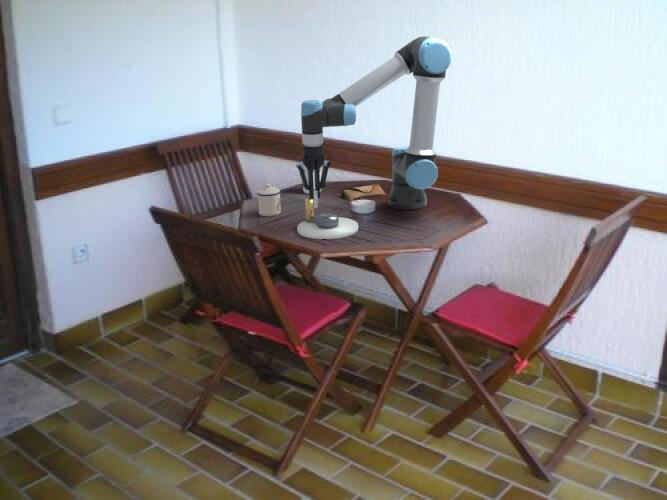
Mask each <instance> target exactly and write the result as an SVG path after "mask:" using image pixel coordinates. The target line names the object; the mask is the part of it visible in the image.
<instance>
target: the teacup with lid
mask: <svg viewBox="0 0 667 500" xmlns="http://www.w3.org/2000/svg"><path fill="white" fill-rule="evenodd" d="M256 195H257V204H258V206H257V207H258V214H259V216H262V217H274V216H279V215H280V214H281V213H282V207H281V190H280V189H279V188H277V187H275V186H271V183H266V184H265V186H264V187H262V188H260V189H258V190H257V191H256Z"/></svg>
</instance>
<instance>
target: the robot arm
mask: <svg viewBox="0 0 667 500" xmlns="http://www.w3.org/2000/svg"><path fill="white" fill-rule="evenodd" d="M452 55H453V53H452V50H451V48H450V45H448V43H447V42H445V41H444V40H442V39H441V38H437V37H430V36H419V37H416V38H414V39H413V40H411V41H409V42H408V43H407V44H405V45H404V46H403V47H401V48H400V49H398V50H397V51H395V52H394V55H393V57H391V58H389V59H388V60H387V61H385V62H384V63H382V64H381V65H380V66H378V67H376V68H375V69H374V70H372V71H370V72H368V74H365V75H364V76H363V77H362V78H359V79H358V80H357V81H355V82H354V83H352V84H351V85H349V86H348V87H346V88H345V89H344V90H341V91H340V92H339V93H338V94H336V95H334V96H333V97H330V98H326V99H324V100H323V101H322V100H319V99H309V100H305V101H303V102H301V104H300V105H301V107H300V109H301V111H300V116H301V117H300V118H301V121H300V122H301V139H302V140H301V141H302V143H301V144H303V145H302V147H301V148H302V158H301V162H300V163H296V164H295V168H297V170H298V172H299V175H300V179H301V181H302V187H303V186H304V188H305V189H306V190H309V194H308V196H309V197H308V198H313V207H314V209H317V208H318V207H319V204H318V203H319V199H320V197H321V192H320V190H321V191H322V189H324V188H325V187H326V182H327V176H328V172H329V168H330V167H331V164H332V163H331V162H330V160H326V158H325V155H324V144H323V143H324V128H329V127H348V126H353V125H355V123H356V121H357V110H356V107H357V106H359V105H361V104H362V103H363V102H365V101H366V100H368V99H369V98H371V97H373V96H374V95H375V94H377V93H378V92H380V91H381V90H383V89H385V88H386V87H388V86H389V85H391V84H392V83H394V82H395V81H397V80H398V79H400V78H401V77H403V76H404V75H408V76H409V75H411V74H412V76H413V78H414V79H415V92H414V99H413V111H412V118H411V119H412V120H411V129H410V137H409V146H400V147H395V148H393V149H392V152H391V153H392V154H391V160H392V161H391V163H392V164H391V168H392V169H391V172H392V177H391V178H392V186H391V190H390V192H389V196H388V203H387V204H388V206H389V207H390V208H393V209H397V210H416V209H417V210H418V209H421V208H424V207H426V206H427V205H428V203H427V201H428V200H427V196H426V192H425V190H426V189H428V188H430V187H431V186H432V185H434V184H435V183H436V181H437V179H438V176H439V170H438V167H437V165H436V158H437V152H436V151H435V149H434V147H433V145H434V138H435V130H436V121H437V115H438V114H437V113H438V106H439V96H440V95H439V94H440V87H441V83H442V82H443V81H444V79H446V74H447V73H446V72H447V70H448V68H449V67H450V65H451V62H452V58H453V56H452ZM303 165H305V167H306V168H307V171H308V183H307V179H306V176H305V173H304V170H303V168H304V166H303ZM321 168H322V169H321ZM313 170H314V173H315V189H314V184H313ZM321 171H322V172H321ZM320 173H321V180H320Z"/></svg>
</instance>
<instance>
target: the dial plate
mask: <svg viewBox="0 0 667 500" xmlns="http://www.w3.org/2000/svg"><path fill="white" fill-rule="evenodd" d="M338 217H339V216H338ZM296 229H297V230H296V231H297V234H298V235H299V236H301V237H303V238H307V239H311V238H312V239H313V240H322V239H327V240H337V239H342V238H343V239H344V238H346V237H350V236H353V235H355V234H356V233H358V231H359V224H358V222H357V221H356V220H354V219H351V218H347V217H339V225H338V226H336V227H332V228H321V227H318V226H317V223H315V222H311V221H306V219H303V220H302V222H300V223H299V224H297V226H296Z"/></svg>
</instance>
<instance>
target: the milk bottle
mask: <svg viewBox="0 0 667 500" xmlns="http://www.w3.org/2000/svg"><path fill="white" fill-rule="evenodd" d="M303 166H304V168H303V170H304V173H305V176H306V179H307V183H308V171H307V168H306V167H305V165H303ZM321 175H322V172H320V180H321ZM313 184H314V189H315V173H314V170H313ZM302 190H303V193H304V194H308V195H309V190H306V189H305V188H304V186H303V185H302ZM321 192H322V189H321V190H320V193H321Z"/></svg>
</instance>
